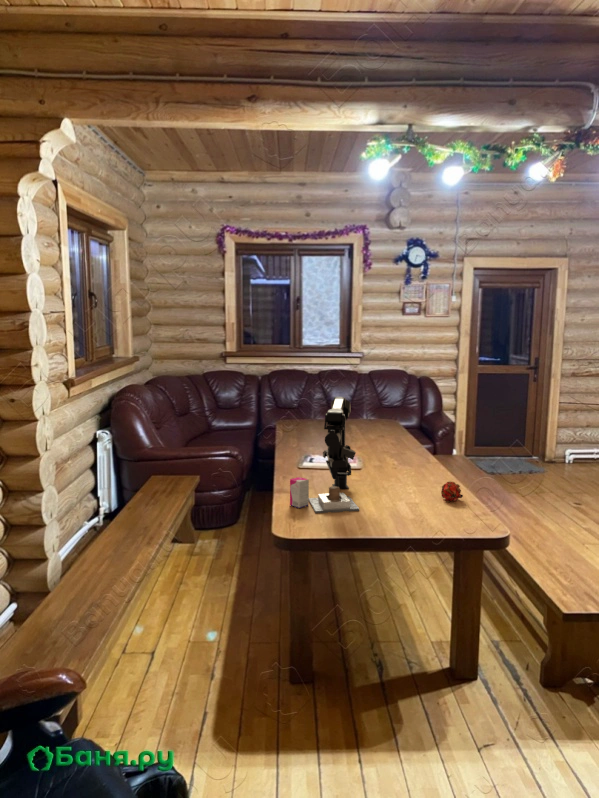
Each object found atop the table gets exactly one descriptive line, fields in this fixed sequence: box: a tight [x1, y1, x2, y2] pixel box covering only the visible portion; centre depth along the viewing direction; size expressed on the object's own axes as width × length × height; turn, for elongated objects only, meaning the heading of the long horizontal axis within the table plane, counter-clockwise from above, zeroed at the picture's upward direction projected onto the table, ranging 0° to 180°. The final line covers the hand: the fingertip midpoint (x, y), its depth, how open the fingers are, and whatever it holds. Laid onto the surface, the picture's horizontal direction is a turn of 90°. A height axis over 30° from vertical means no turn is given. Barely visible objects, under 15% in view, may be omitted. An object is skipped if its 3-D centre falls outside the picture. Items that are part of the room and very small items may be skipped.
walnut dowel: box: [328, 485, 341, 500], centre depth 231 cm, size 4×4×7 cm
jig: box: [309, 492, 360, 514], centre depth 232 cm, size 16×18×4 cm
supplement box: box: [289, 476, 310, 509], centre depth 232 cm, size 6×6×12 cm
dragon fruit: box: [440, 481, 464, 503], centre depth 240 cm, size 8×8×12 cm
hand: (334, 478), depth 230 cm, fingers closed
